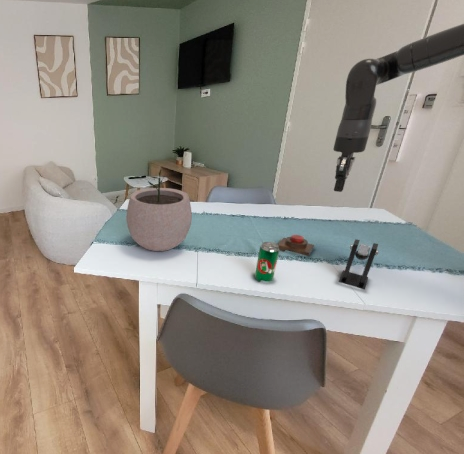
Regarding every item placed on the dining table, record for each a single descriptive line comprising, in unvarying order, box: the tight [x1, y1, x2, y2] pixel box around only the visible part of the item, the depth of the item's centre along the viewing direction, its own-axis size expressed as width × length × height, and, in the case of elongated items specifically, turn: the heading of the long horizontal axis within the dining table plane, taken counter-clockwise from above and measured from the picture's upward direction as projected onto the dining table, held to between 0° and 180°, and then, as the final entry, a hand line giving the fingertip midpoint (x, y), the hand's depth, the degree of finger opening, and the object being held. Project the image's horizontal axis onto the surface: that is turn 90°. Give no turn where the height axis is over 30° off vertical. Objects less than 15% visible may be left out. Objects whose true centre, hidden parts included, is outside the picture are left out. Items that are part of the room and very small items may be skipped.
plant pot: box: [126, 169, 193, 252], centre depth 108 cm, size 24×24×30 cm
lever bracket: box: [338, 239, 379, 290], centre depth 84 cm, size 8×6×13 cm
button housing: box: [276, 235, 315, 257], centre depth 105 cm, size 10×8×4 cm
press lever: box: [354, 243, 372, 261], centre depth 86 cm, size 14×3×3 cm, turn 136°
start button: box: [290, 234, 305, 243], centre depth 104 cm, size 4×4×2 cm
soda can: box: [254, 241, 280, 282], centre depth 88 cm, size 5×5×12 cm
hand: (338, 190), depth 93 cm, fingers closed
